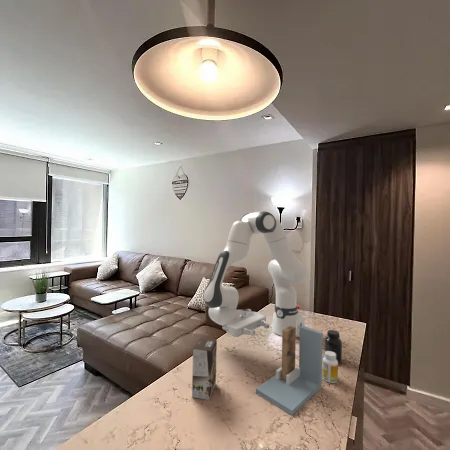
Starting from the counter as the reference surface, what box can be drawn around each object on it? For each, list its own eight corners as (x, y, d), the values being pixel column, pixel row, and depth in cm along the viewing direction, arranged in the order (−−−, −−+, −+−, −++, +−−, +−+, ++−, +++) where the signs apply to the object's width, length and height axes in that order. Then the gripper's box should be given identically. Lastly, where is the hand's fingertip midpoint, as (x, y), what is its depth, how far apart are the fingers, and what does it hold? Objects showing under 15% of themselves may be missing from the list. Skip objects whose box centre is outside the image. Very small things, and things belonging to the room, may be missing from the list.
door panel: (290, 372, 96) (291, 325, 96) (297, 376, 94) (298, 328, 94) (281, 379, 92) (282, 329, 92) (289, 383, 89) (290, 332, 89)
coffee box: (210, 400, 82) (211, 351, 82) (191, 397, 83) (192, 348, 83) (216, 383, 91) (217, 338, 91) (199, 381, 92) (200, 336, 92)
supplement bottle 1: (326, 354, 114) (326, 327, 114) (342, 358, 110) (343, 331, 110) (323, 360, 108) (323, 332, 108) (340, 365, 104) (341, 336, 104)
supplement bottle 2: (338, 377, 96) (339, 352, 96) (336, 385, 91) (337, 358, 91) (323, 373, 99) (324, 348, 99) (321, 380, 94) (321, 354, 94)
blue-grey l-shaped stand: (287, 370, 100) (288, 321, 100) (321, 387, 90) (322, 332, 90) (255, 392, 86) (256, 335, 86) (292, 415, 76) (293, 351, 76)
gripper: (219, 319, 105) (244, 329, 95) (251, 308, 119) (275, 315, 110) (219, 334, 105) (244, 346, 95) (251, 321, 119) (275, 330, 110)
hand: (261, 329), depth 103 cm, fingers open, 8 cm apart
